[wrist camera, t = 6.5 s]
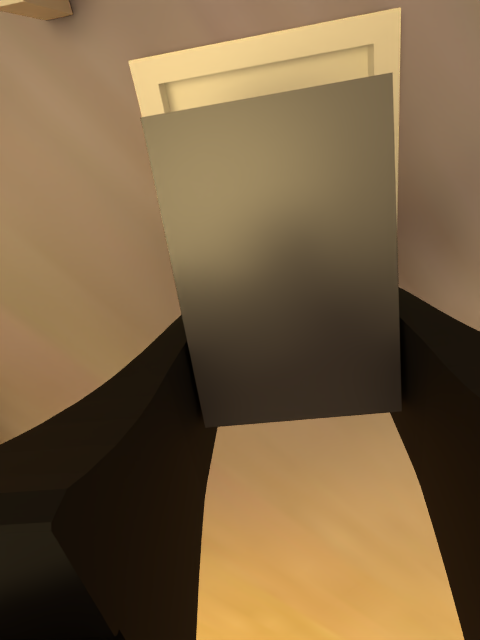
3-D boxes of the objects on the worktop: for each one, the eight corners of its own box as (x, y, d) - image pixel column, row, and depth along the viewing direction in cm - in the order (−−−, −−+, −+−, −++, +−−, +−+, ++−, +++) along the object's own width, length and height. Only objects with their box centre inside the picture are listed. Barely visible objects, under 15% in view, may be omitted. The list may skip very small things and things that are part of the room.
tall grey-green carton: (357, 321, 13) (401, 411, 9) (229, 335, 14) (205, 428, 9) (344, 106, 11) (392, 72, 7) (194, 132, 12) (140, 118, 7)
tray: (387, 295, 20) (395, 312, 18) (200, 317, 21) (196, 334, 19) (388, 12, 14) (400, 7, 13) (140, 61, 15) (128, 61, 14)
